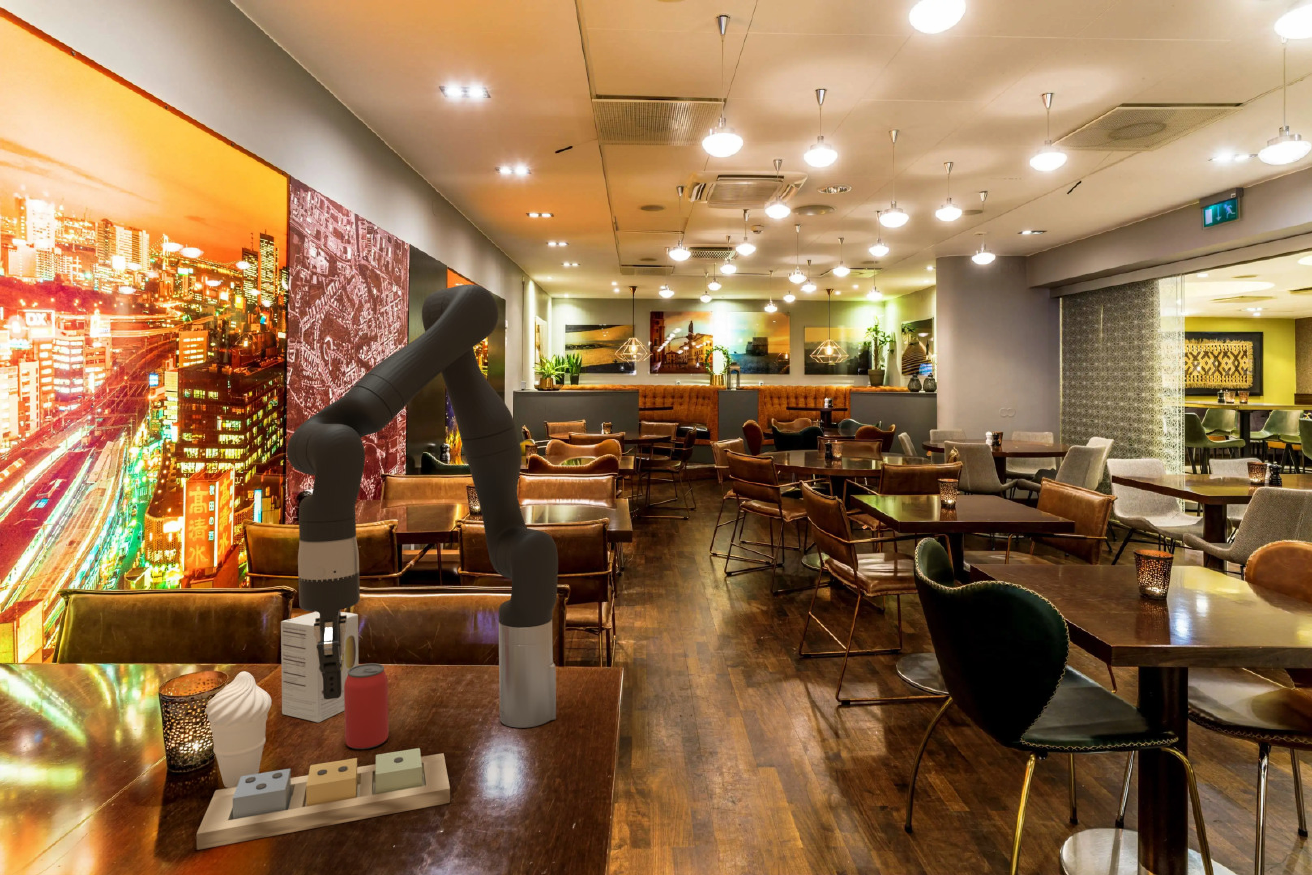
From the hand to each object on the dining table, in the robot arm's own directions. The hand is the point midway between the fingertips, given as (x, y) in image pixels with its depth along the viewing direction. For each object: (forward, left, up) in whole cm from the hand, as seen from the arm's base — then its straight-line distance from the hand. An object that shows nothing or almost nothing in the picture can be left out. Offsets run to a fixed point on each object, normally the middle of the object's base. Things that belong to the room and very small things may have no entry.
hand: (332, 696), depth 99 cm
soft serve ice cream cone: (+13, -11, -15) cm, 23 cm away
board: (0, 0, -15) cm, 15 cm away
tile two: (0, 0, -14) cm, 14 cm away
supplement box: (+4, -35, -15) cm, 39 cm away
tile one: (-8, 0, -14) cm, 17 cm away
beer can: (-4, -18, -15) cm, 24 cm away
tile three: (+9, 0, -14) cm, 17 cm away
